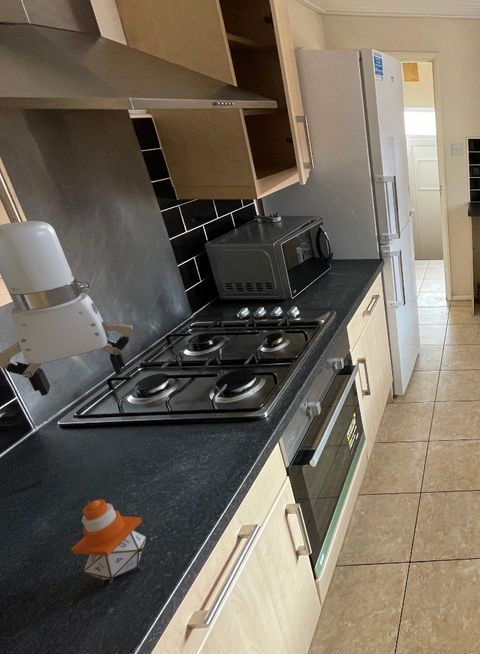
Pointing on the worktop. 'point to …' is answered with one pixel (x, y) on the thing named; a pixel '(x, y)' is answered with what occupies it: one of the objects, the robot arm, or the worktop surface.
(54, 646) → the worktop surface
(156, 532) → the worktop surface
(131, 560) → the game die
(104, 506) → the cone
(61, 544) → the worktop surface
